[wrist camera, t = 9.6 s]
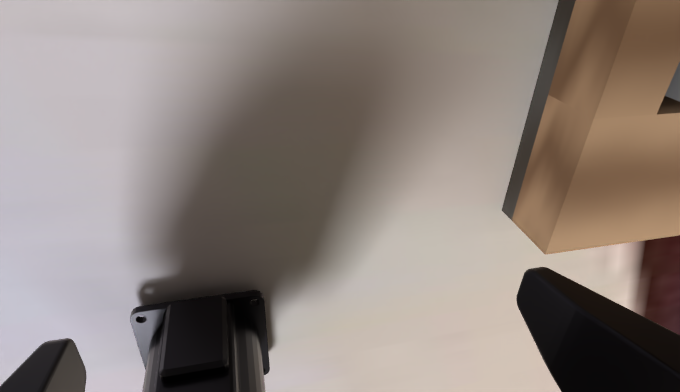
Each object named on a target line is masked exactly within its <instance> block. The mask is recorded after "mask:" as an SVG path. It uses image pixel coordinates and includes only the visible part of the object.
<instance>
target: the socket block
mask: <svg viewBox="0 0 680 392" xmlns="http://www.w3.org/2000/svg"><path fill="white" fill-rule="evenodd" d="M679 62H680V0H559V3H558V7H557V11H556V14H555V18H554V22H553V25H552V29H551V33H550V36H549V40H548V44H547V47H546V51H545V55H544V58H543V62H542V66H541V69H540V73H539V77H538V80H537V84H536V88H535V91H534V95H533V99H532V102H531V106H530V110H529V113H528V117H527V121H526V124H525V128H524V132H523V135H522V139H521V143H520V146H519V150H518V154H517V157H516V161H515V165H514V168H513V172H512V176H511V179H510V183H509V187H508V190H507V194H506V198H505V201H504V205H503V209H502V211H503V212H504V213H505V214H506V215H507V216H508V217H509V218H510V219H511V220H512V221H513V222H514V223H515V224H516V225H517V226H518V227H519V228H520V229H521V230H522V231H523V232H524V233H525V234H526V235H527V236H528V237H529V238H530V239H531V241H532V242H533V243H534V244H535V245H536V246H537V247H538V248H539V249H540V250H541V251H542V252H543V253H544V254H552V253H559V252H566V251H573V250H580V249H587V248H594V247H601V246H608V245H615V244H622V243H629V242H636V241H643V240H649V239H656V238H663V237H670V236H677V235H680V102H679V101H677V100H674V99H672V98H669V97H667V96H665V94H666V92H667V89H668V87H669V85H670V82H671V80H672V78H673V76H674V73H675V71H676V69H677V66H678V64H679Z"/></svg>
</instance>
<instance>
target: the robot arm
mask: <svg viewBox="0 0 680 392" xmlns="http://www.w3.org/2000/svg"><path fill="white" fill-rule="evenodd" d="M253 299H257V300H256V301H251V300H253ZM517 305H518V308H519V310H520V312H521V314H522V316H523V318H524V320H525V322H526V325H527V327H528V329H529V331H530V333H531V335H532V337H533V339H534V341H535V343H536V345H537V347H538V349H539V351H540V354H541V356H542V358H543V360H544V362H545V364H546V366H547V367H548V369H549V371H550V373H551V375H552V376H553V378H554V380H555V382H556V383H557V385H558V386H559V388H560V390H561V391H562V392H680V335H678V334H676V333H674V332H672V331H670V330H668V329H666V328H664V327H662V326H661V325H659V324H657V323H655V322H653V321H651V320H649V319H647V318H645V317H643V316H641V315H639V314H637V313H635V312H633V311H631V310H629V309H627V308H625V307H623V306H621V305H619V304H617V303H615V302H613V301H611V300H609V299H608V298H606V297H604V296H602V295H600V294H598V293H596V292H594V291H592V290H590V289H588V288H586V287H584V286H582V285H580V284H578V283H576V282H574V281H572V280H570V279H568V278H566V277H564V276H562V275H560V274H558V273H556V272H554V271H553V270H551V269H549V268H546V267H539V268H533V269H528V270H527V271H526V272H525V273H524V276H523V279H522V282H521V285H520V288H519V291H518V294H517ZM139 316H145V317H139ZM130 322H131V325H132V328H133V331H134V334H135V338H136V341H137V344H138V347H139V350H140V353H141V357H142V360H143V363H144V366H145V369H146V372H145V378H144V385H143V391H142V392H265V383H264V375H266V374H267V373H268V372H269V370H270V367H269V354H268V342H267V330H266V318H265V305H264V296H263V293H261V292H260V291H257V290H252V291H245V292H238V293H231V294H224V295H217V296H210V297H203V298H196V299H189V300H181V301H174V302H167V303H160V304H153V305H146V306H140V307H136V308H135V309H133V311H132V312H131V317H130ZM85 385H86V370H85V366H84V364H83V361H82V359H81V357H80V354H79V352H78V350H77V347H76V345H75V343H74V341H73V340H72V339H68V338H66V339H59V340H52V341H47V342H45V343H43V344H42V345H40V346H39V347H38V348H37V349H36V350H35V351H34V352H33V353H32V354H31V355H30V356H29V357H28V359H27V360H26V361H25V362H24V363H23V364H22V365H21V366H20V367H19V368H18V369H17V370H16V371H15V372H14V373H13V374H12V375H11V376H10V377H9V378H8V379H7V380H6V381H5V382H4V383H3V384H2V385H1V386H0V392H85Z"/></svg>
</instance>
